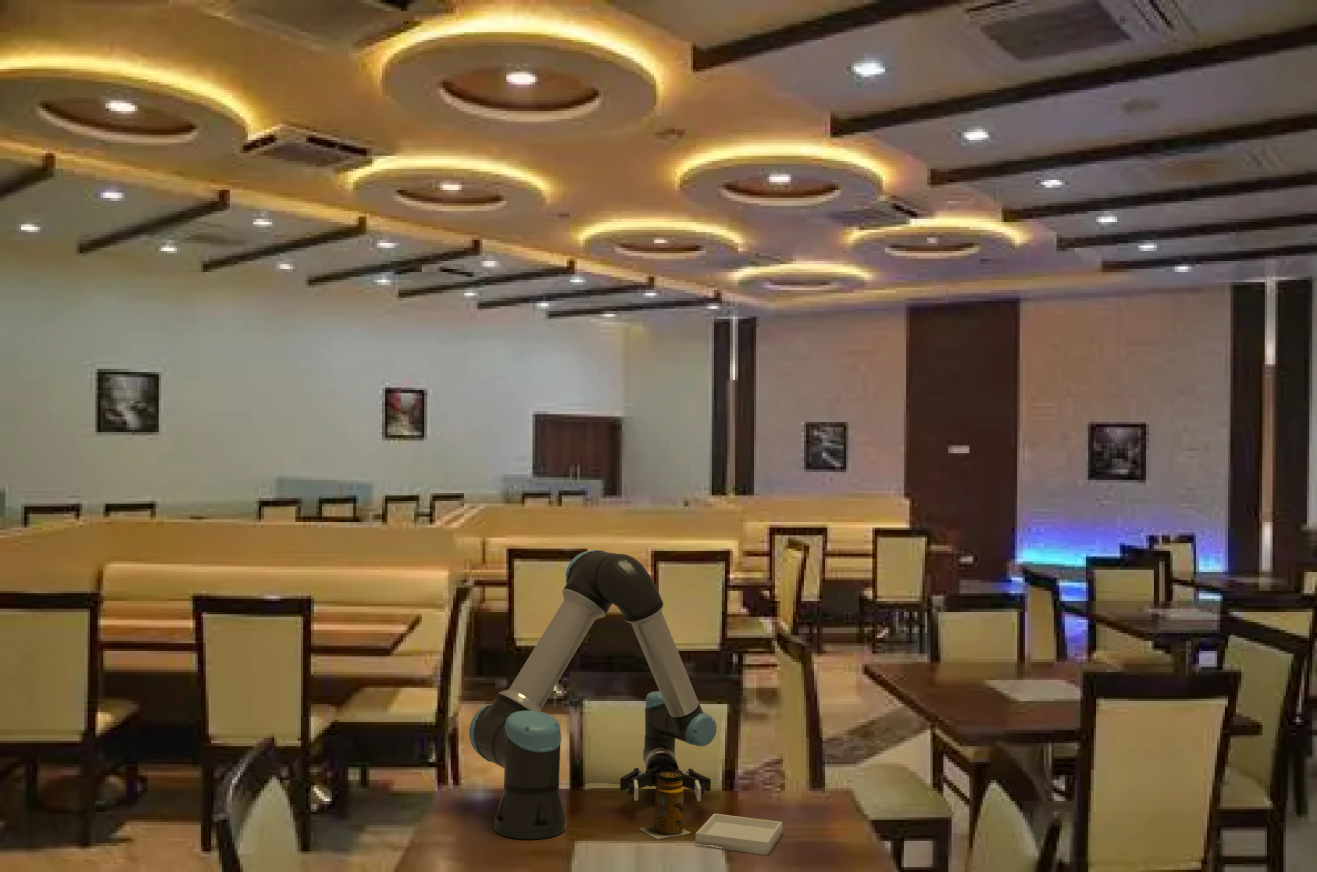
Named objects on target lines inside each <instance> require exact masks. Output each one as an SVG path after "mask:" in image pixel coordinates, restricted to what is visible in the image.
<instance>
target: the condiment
mask: <svg viewBox="0 0 1317 872" xmlns="http://www.w3.org/2000/svg"><path fill="white" fill-rule="evenodd" d="M682 778H683V777H682V775H681V774H680V773H677V772H661V773H659V775H658V782H657V783H658V785H657V787H655V796H654V797H655V801H654V802H655V803H654V804H655V805H654V806H655V807H654V825H651V826H648V827H640V828H638V829H639V830H640V831H642V832H643V833H645V834H646V835H648V836H650V837H653V838H655V839H657V840H660V839H665V838H671V837H678V836H684V835H688V834H691V831H689V830H687V829H684V802H685V801H684V800H685V799H684V796H685V787H683V786H682V784H683V783H682Z"/></svg>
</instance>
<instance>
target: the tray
mask: <svg viewBox="0 0 1317 872" xmlns="http://www.w3.org/2000/svg"><path fill="white" fill-rule="evenodd" d="M782 835H783V821H778V820H777V821H776V820H770V819H762V818H753V817H747V816H737V815H729V814H721V813H713V814H712V815H711V816H710V817H709V819H707V821H706V822H704V823H703V825H702V826H701V827H700V828H699V829H698V830H697V831H696V832H695V845H696V844H701V845H714V846H718V847H722V848H725V849H726V850H727V851H731V852H732V851H735V852H742V853H748V854H749V853H750V854H756V855H763V856H768V855H769V854H770V853H771V851H772V850H773V848H774V847H775V845H776V844H777V842H778V841H779V839H780V837H781V836H782ZM725 849H724V850H725ZM726 850H725V851H726Z"/></svg>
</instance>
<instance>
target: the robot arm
mask: <svg viewBox="0 0 1317 872" xmlns="http://www.w3.org/2000/svg"><path fill="white" fill-rule="evenodd" d="M561 593H562V597H563V602H562V603H561V605H560V606H559V608H558V609H557V611H556V613H555V614H554V616H553V617H552V619H551V621H550V622H549V624H548V626H547V627H546V629H545V630H544V632H543V634H542V636H541V637H540V638H539V640H538V641H537V644H536V645H535V647H534V648H533V649H532V651H531V653H530V654H529V655H528V656H529V657H528V658H527V659H526V662H525V663H524V664H523V666H522V667H521V668H520V671H519V672H518V674H517V675H516V677H515V679H514V680H513V682H512V684H511V685H510V686H509V688H508V689H506V690H502V691H499V692H498V694H497V695H496V696H495V699H494V700H493V701H492V703H491V704H487V705H486V706H483V707H481V708H480V709H479V710H477V712H476V713H475V714H474V715H473V717H472V719H471V722H470V724H469V731H468V737H469V741H470V744H471V746H472V748H473V750H474V751H475V753H477V755H478V756H480V757H482V759H485V760H486V761H487V762H489V763H490V762H491V763H493V764H494V765H495V764H496V765H498V766H499V767H502V768H503V771H504V773H503V774H504V776H503V777H504V778H503V781H504V782H503V792H502V796H501V798H500V802H499V803H498V807H497V811H496V813H495V816H494V823H493V825H494V831H495V832H496V833H498V834H499V835H501V836H503V837H506V838H510V839H511V838H512V839H518V840H540V839H545V838H552V837H555V836H558V835H560V834H563V832H565V831H566V829H567V815H566V811H565V807H564V804H563V801H562V797H561V794H560V764H561V742H562V734H561V733H562V731H561V724H560V722H559V720H558V719H557V718H556V717H554V716H553V715H551V714H549V713H546V712H543V711H542V709H543V707H544V705H545V703H546V702H547V700H548V698H549V697H550V695H551V693H553V691H554V689H555V686H556V685H557V684H558V682H559V680H560V678H561V677H562V675H563V673H564V672H565V671H566V668H568V665H569V663H570V662H571V660H572V659H573V657H574V655H575V654H576V653H577V650H578V648H579V647H580V646H581V644H582V642H583V641H584V639H585V637H586V636H587V634H588V632H589V630H590V629H591V627H592V626H593V624H594V623H595V621H596V620H597V619H598V620H599V619H602V618H605V617H606V615H607V613H608V611H609V610H610V608H611V607H612V605H614V606H615V607H616V608H617V609H618V610H619V611H620V613H621V615H622V616H623V620H624V622H626V623H629V624H630V625H631V626H632V629H633V631H634V634H635V636H636V639H637V640H638V643H639V645H640V648H641V650H642V652H643V655H644V657H645V660H646V662H647V664H648V665H647V666H648V667H649V669H650V672H651V674H652V676H653V678H654V682H655V683H656V685H657V689H658V690H656V691H651V692H649V693H648V694H647V695H646V698H645V708H644V721H645V723H644V731H645V732H644V742H643V743H644V745H643V747H644V748H643V755H642V758H643V761H644V765H645V771H642V769H640V768H638V767H635V768H633V770H632V771H630V772H629V773H627V774H625V775H624V776H621V777H620V778H619V781H620V783H619V790H620V791H625V790H627V791H628V792H627V794H628V795H633V799H634V801H635V802H637V801H639V790H640V789H643V788H646V787H655V788H656V787H657V785H658V783H657V782H658V775H659V773H661V772H677V773H680V774H681V775H682V777H683V778H682V783H683V784H682V786H683V788H687V789H690V790H693V791H694V794H695V798H696V801H697V802H702V795H703V794H705V792H706V791H707V792H711V790H712V789H711V787H712V786H711V785H712V784H711V783H712V779H711V778H710V777H707V776H705V775H704V774H703V775H702V774H700V773H699V772H696V771H695V770H694V769H692V768H688V769H687V770H686V771H685V772H683V771H682V770H680V769H679V765H678V762H677V759H676V740H678V741H681V742H684V743H686V744H689V745H692V746H697V747H706V746H709V744H710V743H712V741H714V739H715V737H716V734H717V729H718V727H717V723H716V721H715V719H714V717H713V716H711V715H709V714H708V713H706V712H704V711H703V708H702V707H701V704H700V702H699V699H698V697H697V695H696V693H695V690H694V687H693V685H692V683H691V680H690V677H689V675H688V672H687V670H686V668H685V665H684V663H683V660H682V658H681V655H680V653H679V650H678V647H677V646H676V643H675V641H674V638H673V636H672V633H671V631H670V627H669V626H668V623H667V620H666V619H665V615H664V613H663V611H662V610H663V608H664V606H665V605H664V602H663V599H662V597H661V594H660V593H659V590H658V587H657V585H656V584H655V581H654V580H653V578H652V577H651V575H650V573H649V572H648V571H647V569H646V568H645V566H644V565H643V564H642V563H641V562H640V561H639V560H637V559H636V558H634V557H633V556H631V555H628V554H625V553H615V552H607V551H604V550H597V549H595V550H587V551H583V552H581V553H579V554H577V555H576V556H574V558H573V559H572V560H571V561H570V563H569V564H568V565H567V568H566V571H565V586H564V588H563V589H562V590H561Z"/></svg>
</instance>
